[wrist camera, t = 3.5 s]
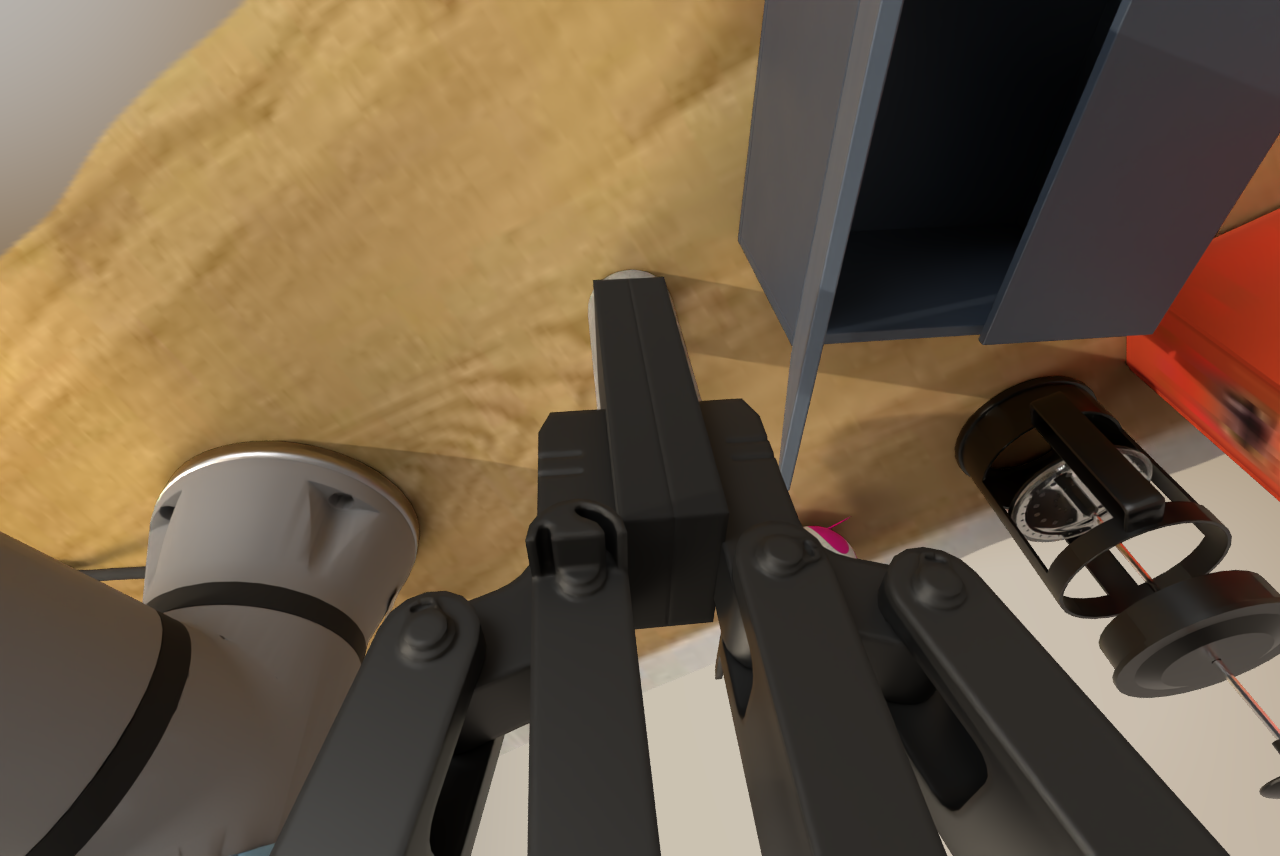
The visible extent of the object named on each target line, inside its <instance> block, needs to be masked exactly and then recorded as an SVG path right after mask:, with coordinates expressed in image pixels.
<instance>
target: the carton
mask: <svg viewBox="0 0 1280 856" xmlns="http://www.w3.org/2000/svg"><path fill="white" fill-rule="evenodd" d="M859 5H860V0H765V5H764V14H763V23H762V31H761V40H760V49H759V58H758V67H757V76H756V84H755V93H754V102H753V111H752V120H751V129H750V137H749V146H748V155H747V164H746V173H745V182H744V190H743V199H742V208H741V217H740V226H739V234H738V242H739V244H740V246H741V247H742V249H743V251H744V253H745V255H746V257H747V259H748V261H749V263H750V265H751V267H752V269H753V271H754V273H755V275H756V277H757V279H758V281H759V283H760V285H761V287H762V289H763V290H764V292H765V294H766V296H767V298H768V300H769V302H770V304H771V306H772V308H773V310H774V312H775V314H776V316H777V318H778V320H779V322H780V324H781V326H782V328H783V330H784V331H785V333H786V335H787V337H788V339H789V341H790V343H791V345H792V346H793V342H794V337H795V332H796V327H797V322H798V316H799V311H800V306H801V301H802V296H803V291H804V286H805V281H806V276H807V271H808V265H809V260H810V255H811V250H812V245H813V240H814V235H815V230H816V225H817V220H818V214H819V209H820V204H821V199H822V194H823V189H824V184H825V179H826V174H827V169H828V163H829V158H830V153H831V148H832V143H833V138H834V133H835V128H836V123H837V118H838V112H839V107H840V102H841V97H842V92H843V87H844V82H845V77H846V72H847V67H848V62H849V56H850V51H851V46H852V41H853V36H854V31H855V26H856V21H857V16H858V11H859ZM1279 134H1280V0H904V3H903V7H902V11H901V16H900V20H899V24H898V28H897V33H896V37H895V41H894V46H893V50H892V54H891V58H890V63H889V67H888V71H887V75H886V80H885V84H884V88H883V93H882V97H881V101H880V105H879V110H878V114H877V118H876V122H875V127H874V131H873V135H872V140H871V144H870V148H869V152H868V157H867V161H866V165H865V170H864V174H863V178H862V182H861V187H860V191H859V195H858V199H857V204H856V208H855V212H854V217H853V221H852V225H851V229H850V234H849V238H848V242H847V246H846V251H845V255H844V259H843V264H842V268H841V272H840V276H839V281H838V285H837V289H836V294H835V298H834V302H833V306H832V311H831V315H830V319H829V323H828V328H827V332H826V336H825V341H824V344H834V343H850V342H866V341H883V340H899V339H915V338H931V337H948V336H964V335H980V334H981V335H980V337H979V341H980V342H981V344H982V345H993V344H1009V343H1024V342H1040V341H1056V340H1072V339H1088V338H1103V337H1119V336H1135V335H1151V334H1153V333H1154V331H1155V330H1156V328H1157V327H1158V325H1159V323H1160V322H1161V320H1162V319H1163V317H1164V316H1165V314H1166V312H1167V311H1168V309H1169V308H1170V306H1171V304H1172V303H1173V301H1174V300H1175V298H1176V297H1177V295H1178V293H1179V292H1180V290H1181V289H1182V287H1183V285H1184V284H1185V282H1186V281H1187V279H1188V278H1189V276H1190V274H1191V273H1192V271H1193V270H1194V268H1195V267H1196V265H1197V263H1198V262H1199V260H1200V259H1201V257H1202V255H1203V254H1204V252H1205V251H1206V249H1207V248H1208V246H1209V244H1210V243H1211V241H1212V240H1213V238H1214V236H1215V235H1216V233H1217V232H1218V230H1219V229H1220V227H1221V225H1222V224H1223V222H1224V221H1225V219H1226V218H1227V216H1228V214H1229V213H1230V211H1231V210H1232V208H1233V206H1234V205H1235V203H1236V202H1237V200H1238V199H1239V197H1240V195H1241V194H1242V192H1243V191H1244V189H1245V187H1246V186H1247V184H1248V183H1249V181H1250V180H1251V178H1252V176H1253V175H1254V173H1255V172H1256V170H1257V169H1258V167H1259V165H1260V164H1261V162H1262V161H1263V159H1264V157H1265V156H1266V154H1267V153H1268V151H1269V150H1270V148H1271V146H1272V145H1273V143H1274V142H1275V140H1276V138H1277V137H1278V135H1279Z"/></svg>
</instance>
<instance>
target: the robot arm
mask: <svg viewBox="0 0 1280 856" xmlns="http://www.w3.org/2000/svg"><path fill="white" fill-rule="evenodd" d="M593 287H594V308H595V329H596V351H597V372H598V388H599V398H600V409H598V410H583V411H567V412H552V413H550V414H549V416H548V417H547V419H546V421H545V422H544V424H543V426H542V427H541V429H540V431H539V434H538V507H537V517H536V518H535V519H534V520H533V522H532V523H531V524H530V525H529V529H528V533H527V536H526V540H525V542H526V547H527V553H528V559H529V564H530V565H529V566H528V567H527V568H526V569H525V571H524V572H523V573H522V574H521V575H520V576H519V577H518V578H516V579H515V580H514V581H512V582H511V583H510V584H508V585H506V586H504V587H502V588H500V589H498V590H496V591H493V592H491V593H488V594H485V595H483V596H480V597H478V598H475V599H472V600H470V601H467V600H466V599H465V598H464V597H463V596H460V595H457V594H454V593H451V592H447V591H438V592H426V593H423V594H420V595H418V596H415V597H412V598H410V599H407V600H406V601H404V602H403V603H402V604H401V605H399V606H398V607H397V608H395V609H394V610H393V611H391V610H392V608H393V605H394V602H395V600H396V597H397V595H398V593H399V591H400V590H401V588H402V586H403V585H404V583H405V582H406V580H407V578H408V576H409V574H410V572H411V569H412V567H413V565H414V562H415V558H416V554H417V548H418V543H419V534H420V530H419V523H418V519H417V516H416V513H415V511H414V509H413V507H412V505H411V504H410V502H409V501H408V499H407V498H406V497H405V495H404V494H403V493H402V492H401V491H400V490H399V489H398V488H397V487H396V486H395V485H394V484H393V483H392V482H391V481H390V480H388V479H387V478H385V477H384V476H383V475H381V474H380V473H378V472H377V471H375V470H374V469H372V468H370V467H369V466H367V465H365V464H363V463H361V462H359V461H357V460H355V459H352V458H350V457H348V456H345V455H342V454H340V453H337V452H334V451H330V450H327V449H324V448H320V447H315V446H311V445H306V444H300V443H293V442H283V441H250V442H241V443H235V444H229V445H225V446H221V447H217V448H214V449H211V450H209V451H206V452H203V453H201V454H199V455H197V456H195V457H193V458H192V459H190V460H189V461H187V462H186V463H184V464H183V465H182V466H181V467H180V468H178V470H177V471H176V472H175V473H174V474H173V475H172V477H171V478H170V480H169V481H168V483H167V485H166V486H165V488H164V490H163V491H162V493H161V495H160V496H159V498H158V500H157V502H156V505H155V508H154V512H153V514H152V518H151V522H150V531H149V540H148V551H147V561H146V566H145V567H126V568H110V569H97V570H76V569H74V568H72V567H70V566H68V565H66V564H64V563H62V562H60V561H58V560H56V559H54V558H52V557H50V556H48V555H46V554H44V553H42V552H40V551H38V550H36V549H34V548H32V547H30V546H28V545H26V544H24V543H22V542H20V541H18V540H16V539H14V538H12V537H10V536H8V535H6V534H4V533H2V532H0V856H471V853H472V849H473V845H474V842H475V838H476V835H477V831H478V828H479V824H480V821H481V817H482V813H483V810H484V806H485V802H486V799H487V795H488V792H489V789H490V785H491V781H492V778H493V774H494V771H495V767H496V764H497V760H498V757H499V753H500V749H501V746H502V742H503V739H504V735H505V734H506V733H509V732H511V731H513V730H515V729H517V728H519V727H522V726H524V725H526V724H528V723H530V734H529V796H528V856H661V853H660V852H661V851H660V844H659V835H658V826H657V817H656V809H655V800H654V792H653V783H652V774H651V766H650V758H649V749H648V740H647V732H646V723H645V714H644V706H643V698H642V689H641V680H640V672H639V663H638V654H637V646H636V637H635V629H644V628H654V627H665V626H675V625H686V624H697V623H707V622H713V619H714V612H715V606H716V611H717V615H718V620H719V624H720V629H721V636H720V641H719V647H718V653H717V659H716V666H715V668H716V669H715V679H722V676H723V675H724V679H725V684H726V689H727V693H728V698H729V703H730V707H731V712H732V717H733V722H734V726H735V731H736V736H737V740H738V745H739V749H740V754H741V759H742V764H743V769H744V773H745V778H746V783H747V787H748V792H749V797H750V802H751V806H752V810H753V816H754V820H755V825H756V830H757V835H758V839H759V844H760V849H761V853H762V856H947V854H946V851H945V849H944V847H943V844H942V841H941V839H940V836H941V838H942V839H943V841H944V842H945V844H946V845H947V847H948V849H949V850H950V852H951V854H952V855H953V856H1230V855H1229V854H1228V853H1227V851H1226V850H1225V849H1224V848H1223V847H1222V846H1221V845H1220V844H1219V843H1218V841H1217V840H1216V839H1215V838H1214V837H1213V836H1212V835H1211V834H1210V833H1209V831H1208V830H1207V829H1206V828H1205V827H1204V826H1203V825H1202V824H1201V823H1200V821H1199V820H1198V819H1197V818H1196V817H1195V816H1194V815H1193V814H1192V813H1191V811H1190V810H1189V809H1188V808H1187V807H1186V806H1185V805H1184V804H1183V803H1182V801H1181V800H1180V799H1179V798H1178V797H1177V796H1176V795H1175V793H1174V792H1173V791H1172V790H1171V789H1170V788H1169V787H1168V786H1167V785H1166V784H1165V782H1164V781H1163V780H1162V779H1161V778H1160V777H1159V776H1158V775H1157V774H1156V773H1155V771H1154V770H1153V769H1152V768H1151V767H1150V766H1149V764H1148V763H1147V762H1146V761H1145V760H1144V759H1143V758H1142V757H1141V756H1140V754H1139V753H1138V752H1137V751H1136V750H1135V749H1134V748H1133V747H1132V746H1131V744H1130V743H1129V742H1127V740H1126V739H1125V738H1124V737H1123V736H1122V734H1121V733H1120V732H1119V731H1118V730H1117V729H1116V728H1115V727H1114V726H1113V724H1112V723H1111V722H1110V721H1109V720H1108V719H1107V718H1106V717H1105V715H1104V714H1103V713H1102V712H1101V711H1100V710H1099V709H1098V708H1097V707H1096V705H1095V704H1094V703H1093V702H1092V701H1091V700H1090V699H1089V698H1088V696H1087V695H1085V693H1084V692H1083V691H1082V690H1081V689H1080V688H1079V686H1078V685H1077V684H1076V683H1075V682H1074V681H1073V680H1072V679H1071V678H1070V676H1069V675H1068V674H1067V673H1066V672H1065V671H1064V670H1063V669H1062V667H1061V666H1060V665H1059V664H1058V663H1057V662H1056V661H1055V660H1054V659H1053V658H1052V656H1051V655H1050V654H1049V653H1048V652H1047V651H1046V650H1045V649H1044V647H1043V646H1042V645H1041V644H1040V643H1039V642H1038V641H1037V640H1036V639H1035V638H1034V636H1033V635H1032V634H1031V633H1030V632H1029V631H1028V630H1027V629H1026V628H1025V626H1024V625H1023V624H1022V623H1021V622H1020V621H1019V620H1018V619H1017V617H1016V616H1015V615H1014V614H1013V613H1012V612H1011V611H1010V610H1009V608H1008V607H1007V606H1006V605H1005V604H1004V603H1003V602H1002V601H1001V600H1000V598H999V597H998V596H997V595H996V594H995V593H994V592H993V591H992V589H991V588H990V587H989V586H988V585H987V584H986V583H985V582H984V581H983V579H982V578H981V577H980V576H979V575H978V574H977V573H976V572H975V571H974V570H973V569H972V568H970V567H969V566H968V565H967V564H966V563H964V562H963V561H962V560H961V559H959V558H957V557H955V556H953V555H950V554H948V553H946V552H944V551H942V550H936V549H931V548H926V547H920V548H912V549H906V550H905V551H903V552H901V553H899V554H898V555H896V556H894V558H893V560H892V561H891V563H890V565H887V564H882V563H877V562H872V561H867V560H861V559H856V558H851V557H848V556H844V555H841V554H837V553H835V552H833V551H831V550H829V549H827V548H825V547H823V546H822V544H821V543H820V541H819V540H818V539H817V538H816V537H815V536H814V535H812V534H811V533H810V532H808V531H807V530H806V529H804V528H803V526H802V524H801V523H800V521H799V519H798V516H797V514H796V511H795V508H794V506H793V503H792V500H791V498H790V495H789V493H788V490H787V487H786V485H785V482H784V479H783V477H782V474H781V471H780V469H779V466H778V463H777V461H776V458H774V453H773V450H772V448H771V445H770V442H769V441H768V440H767V434H766V432H765V429H764V426H763V424H762V421H761V419H760V416H759V415H758V414H757V413H756V412H755V411H754V410H753V409H752V408H751V407H750V406H749V405H748V404H747V403H746V402H745V401H744V400H743V399H742V398H741V399H726V400H710V401H698V398H697V394H696V390H695V387H694V383H693V380H692V376H691V372H690V369H689V365H688V362H687V358H686V354H685V351H684V347H683V344H682V340H681V336H680V333H679V329H678V326H677V322H676V318H675V315H674V311H673V308H672V304H671V300H670V297H669V293H668V290H667V286H666V282H665V279H664V277H649V278H628V279H607V280H593ZM144 578H145V582H144V593H143V603H142V602H140V601H138V600H136V599H134V598H132V597H130V596H128V595H126V594H124V593H122V592H120V591H118V590H116V589H114V588H112V587H110V586H108V585H106V584H104V583H102V582H100V581H107V580H125V579H144ZM387 611H388V612H387ZM390 611H391V612H390ZM386 613H387V614H386ZM385 614H386V617H385V620H384V622H383V623H382V625H381V626H380V627H379V629H378V631H377V633H376V635H375V637H374V639H373V641H372V643H371V645H370V647H369V650H368V652H367V654H366V656H365V653H366V649H367V645H368V642H369V640H370V638H371V637H372V635H373V634H374V632H375V630H376V629H377V627H378V625H379V624H380V622H381V621H382V619H383V617H384V616H385ZM938 833H939V834H940V836H939V834H938Z"/></svg>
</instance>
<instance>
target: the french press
mask: <svg viewBox="0 0 1280 856" xmlns="http://www.w3.org/2000/svg"><path fill="white" fill-rule="evenodd" d="M1033 428H1036V430H1037V431H1038V432H1039V433H1040V434H1041V435H1042V436H1043V438H1044V439H1045V440H1046V441H1047V442H1048V443H1049V445H1050V446H1051V447H1052V448H1053V450H1051V451H1050V452H1049V453H1047V454H1046V455H1044V456H1042V457H1040V458H1039V459H1037V460H1034V461H1032V462H1030V463H1027V464H1024V465H1021V466H1018V467H1013V468H1004V469H998V468H991V467H990V466H991V464H992V462H993V461H994V460H995V459H996V457H997V456H998V455H999V454H1000V453H1001V452H1002V451H1003V450H1004V449H1005V448H1006V447H1007V446H1008V445H1009V444H1010V443H1012V442H1013V441H1014V440H1016V439H1017V438H1018V437H1020V436H1021V435H1023V434H1024V433H1026V432H1028V431H1030V430H1031V429H1033ZM955 457H956V460H957V463H958V465H959V467H960V468H961V469H962V470H963V472H964V473H965V474H967V475H968V476H970V477H971V478H972V480H973V481H974V482H975V484H976V485H977V487H978V488H979V490H980V491H981V493H982V494H983V495H984V497H985V498H986V500H987V501H988V503H989V504H990V506H991V507H992V508H993V510H994V511H995V513H996V514H997V516H998V517H999V518H1000V520H1001V521H1002V523H1003V524H1004V526H1005V527H1006V529H1007V530H1008V531H1009V533H1010V534H1011V536H1012V537H1013V538H1014V540H1015V542H1016V543H1017V544H1018V546H1019V547H1020V549H1021V550H1022V552H1023V553H1024V555H1025V556H1026V557H1027V559H1028V560H1029V562H1030V563H1031V565H1032V566H1033V568H1034V569H1035V570H1036V572H1037V573H1038V575H1039V576H1040V578H1041V579H1042V580H1043V582H1044V583H1045V585H1046V586H1047V588H1048V589H1049V591H1050V592H1051V593H1052V595H1053V596H1054V598H1055V599H1056V601H1057V602H1058V604H1059V605H1060V607H1061V608H1062V609H1063V610H1064V611H1065V612H1066V613H1068V614H1070V615H1072V616H1075V617H1079V618H1088V619H1098V618H1109V617H1114V616H1117V617H1115V618H1114V619H1113V620H1112V621H1111V622H1110V623H1109V624H1108V625H1107V627H1105V629H1104V631H1103V632H1102V634H1101V636H1100V640H1099V646H1100V649H1101V650H1102V652H1103V653H1104V654H1105V656H1106V657H1107V659H1108V660H1109V661H1110V663H1111V664H1112V666H1113V667H1114V669H1115V671H1114V674H1113V683H1114V684H1115V686H1116V687H1117V688H1118V690H1119V691H1120V692H1121V693H1123V694H1126V695H1128V696H1132V697H1140V698H1153V697H1163V696H1170V695H1176V694H1181V693H1186V692H1190V691H1194V690H1197V689H1201V688H1204V687H1208V686H1211V685H1214V684H1217V683H1219V682H1222V681H1225V680H1228V681H1229V683H1230V684H1231V685H1232V686H1233V687H1234V689H1235V690H1236V691H1237V692H1238V694H1239V695H1240V696H1241V697H1242V698H1243V700H1244V701H1245V702H1246V703H1247V704H1248V706H1249V707H1250V708H1251V709H1252V710H1253V712H1254V713H1255V714H1256V715H1257V716H1258V718H1259V719H1260V720H1261V721H1262V722H1263V724H1264V725H1265V726H1266V727H1267V728H1268V730H1269V731H1270V732H1271V733H1272V734H1273V736H1274V737H1275V738H1276V739H1277V740H1276V741H1274V742H1273V743H1272V745H1273V746H1274V747H1275V749H1276V750H1277V751H1278V753H1279V754H1280V730H1279V729H1278V727H1277V726H1276V725H1275V724H1274V723H1273V721H1272V720H1271V719H1270V718H1269V717H1268V716H1267V714H1266V713H1265V712H1264V711H1263V710H1262V708H1261V707H1260V706H1259V705H1258V704H1257V703H1256V702H1255V700H1254V699H1253V698H1252V697H1251V695H1250V694H1249V693H1248V692H1247V691H1246V690H1245V688H1244V687H1243V686H1242V685H1241V684H1240V683H1239V681H1238V680H1237V679H1236V678H1235V676H1238V675H1240V674H1242V673H1244V672H1247V671H1249V670H1251V669H1253V668H1255V667H1257V666H1259V665H1261V664H1263V663H1265V662H1267V661H1269V660H1270V659H1272V658H1273V657H1275V656H1277V655H1278V654H1280V594H1279V593H1278V592H1277V591H1276V590H1275V589H1274V588H1273V587H1272V586H1271V585H1270V584H1269V583H1268V582H1267V581H1266V580H1265V579H1264V578H1263V577H1262V576H1260V575H1259V574H1257V573H1254V572H1250V571H1242V570H1241V571H1240V570H1231V571H1220V572H1216V573H1210V572H1211V571H1212V570H1213V569H1214V568H1215V567H1216V566H1217V565H1218V564H1219V563H1220V562H1221V561H1222V559H1223V558H1224V557H1225V555H1226V554H1227V552H1228V550H1229V548H1230V546H1231V538H1232V536H1231V534H1230V531H1229V530H1228V529H1227V528H1226V527H1225V526H1224V525H1223V524H1222V523H1221V522H1220V521H1219V520H1218V519H1217V518H1216V517H1215V516H1214V515H1213V514H1212V513H1211V512H1210V511H1209V510H1208V509H1207V508H1205V507H1204V506H1202V505H1199V504H1198V503H1197V502H1196V501H1195V500H1194V499H1193V498H1192V497H1191V496H1190V495H1189V494H1188V493H1187V492H1186V491H1185V490H1184V489H1183V488H1182V487H1181V486H1180V485H1179V484H1178V483H1177V482H1176V481H1175V480H1174V479H1173V478H1172V477H1171V476H1170V475H1169V474H1168V473H1167V472H1166V471H1165V470H1164V469H1163V468H1161V467H1160V466H1159V465H1158V464H1157V463H1156V462H1155V461H1154V460H1153V459H1152V458H1151V457H1150V456H1149V455H1148V454H1147V453H1146V452H1145V451H1144V450H1143V449H1142V448H1141V447H1140V446H1139V445H1138V444H1137V443H1136V442H1135V441H1134V440H1133V439H1132V438H1131V437H1130V436H1129V435H1128V434H1127V433H1126V432H1125V431H1124V430H1123V429H1122V428H1121V426H1120V424H1119V422H1118V421H1117V420H1116V419H1115V418H1114V417H1113V416H1112V415H1111V414H1110V413H1109V412H1108V411H1107V410H1106V409H1105V408H1104V407H1103V406H1102V405H1101V404H1100V403H1099V402H1098V401H1097V399H1096V397H1095V395H1094V393H1093V391H1092V390H1091V389H1090V388H1089V387H1088V386H1086V385H1085V384H1084V383H1083V382H1081V381H1078V380H1076V379H1073V378H1069V377H1062V376H1055V377H1044V378H1039V379H1033V380H1030V381H1027V382H1024V383H1021V384H1018V385H1016V386H1014V387H1012V388H1010V389H1008V390H1006V391H1004V392H1002V393H1001V394H999V395H997V396H996V397H994V398H992V399H991V400H990V401H988V402H987V403H986V404H985V405H983V406H982V407H981V408H979V410H978V411H977V412H976V413H975V414H974V415H973V416H972V417H971V418H970V419H969V420H968V421H967V423H966V424H965V426H964V427H963V428H962V430H961V432H960V434H959V436H958V438H957V442H956V446H955ZM1150 480H1151V481H1152V482H1153V483H1154V484H1155V485H1156V486H1157V487H1158V488H1159V489H1160V490H1161V491H1162V492H1163V493H1164V494H1165V495H1166V496H1167V497H1168V498H1169V499H1170V500H1171V501H1172V502H1165V498H1164V497H1163V496H1162V495H1161V494H1160V492H1159V491H1158V490H1157V489H1155V487H1154V486H1153V485H1152V484H1151V483H1150ZM1005 509H1009V510H1008V513H1007V511H1006V510H1005ZM1181 523H1193V524H1194V525H1195V526H1196V527H1197V528H1198V529H1199V530H1200V531H1201V532H1202V533H1203V534H1204V535H1205V537H1204V538H1203V540H1202V541H1201V543H1200V544H1199V546H1197V548H1196V549H1195V550H1194V551H1193V552H1192V553H1191V554H1190V555H1188V556H1187V557H1186V558H1185V559H1183V560H1182V561H1181V562H1180V563H1178V564H1177V565H1175V566H1174V567H1172V568H1171V569H1169V570H1168V571H1166V572H1165V573H1163V574H1161V575H1159V576H1157V577H1156V578H1154V579H1151V577H1150V576H1149V575H1148V574H1147V573H1146V571H1145V570H1144V569H1143V568H1142V567H1141V565H1140V564H1139V563H1138V562H1137V561H1136V560H1135V558H1134V557H1133V556H1132V555H1131V554H1130V552H1129V551H1128V550H1127V549H1126V548H1125V547H1124V545H1123V544H1122V542H1124V541H1126V540H1128V539H1130V538H1133V537H1135V536H1138V535H1140V534H1143V533H1146V532H1148V531H1152V530H1155V529H1158V528H1162V527H1165V526H1171V525H1176V524H1181ZM1064 539H1065V540H1066V542H1067V543H1068V544H1069V545H1068V546H1067V547H1066V548H1065V549H1064V550H1063V551H1062V552H1061V553H1060V554H1059V555H1058V556H1057V558H1056V559H1055V560H1054V562H1053V563H1052V564H1051V566H1050V568H1049V570H1048V569H1047V568H1046V566H1045V565H1044V564H1043V562H1042V561H1041V559H1040V558H1039V556H1038V555H1037V554H1036V552H1035V551H1034V549H1033V548H1032V547H1031V545H1030V544H1029V542H1028V541H1027V540H1030V541H1035V542H1052V541H1059V540H1064ZM1114 546H1116V547H1117V548H1118V550H1119V551H1120V552H1121V553H1122V554H1123V556H1124V557H1125V558H1126V559H1127V560H1128V562H1130V564H1131V565H1132V566H1133V568H1134V569H1135V570H1136V571H1137V572H1138V574H1139V575H1140V576H1141V577H1142V578H1143V580H1144V581H1145V583H1143V584H1141V585H1137V583H1136V582H1135V581H1134V580H1133V578H1132V577H1131V576H1130V575H1129V574H1128V572H1127V571H1126V570H1125V569H1124V568H1123V566H1122V565H1121V564H1120V563H1119V562H1118V560H1117V559H1116V558H1115V557H1114V555H1113V554H1112V553H1111V552H1110V550H1109V549H1110V548H1112V547H1114ZM1084 566H1086V568H1087V569H1088V570H1089V571H1090V573H1091V574H1092V575H1093V577H1094V578H1095V579H1096V581H1097V582H1098V583H1099V584H1100V586H1101V587H1102V588H1103V590H1104V591H1105V592H1106V594H1107V595H1106V596H1101V597H1096V598H1069V597H1066V596H1063V594H1064V591H1065V588H1066V587H1067V585H1068V583H1069V582H1070V580H1071V579H1072V578H1073V577H1074V576H1075V574H1076V573H1077V572H1079V570H1081V569H1082V568H1083V567H1084ZM1209 573H1210V574H1209ZM1259 792H1260V794H1261V795H1262V796H1263V797H1266V798H1273V799H1280V777H1277V778H1276V779H1273V780H1271V781H1270V782H1268V783H1266V784H1265V785H1264V786H1263V787H1262V788H1261V789H1260V791H1259Z"/></svg>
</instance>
